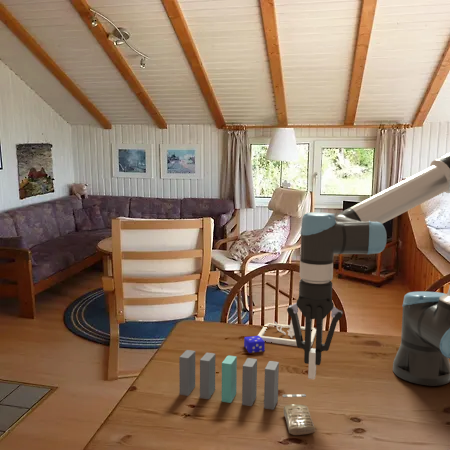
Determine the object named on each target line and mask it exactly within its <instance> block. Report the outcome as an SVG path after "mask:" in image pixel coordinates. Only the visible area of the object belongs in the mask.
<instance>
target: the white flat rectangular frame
mask: <svg viewBox="0 0 450 450" xmlns="http://www.w3.org/2000/svg"><path fill="white" fill-rule="evenodd" d="M277 324H278V328H280V327H281V326H284V327H283V328H287V329H290V324H282V323H277ZM264 326H268V327H269V326H272V327H277V326H276V323H275V322H273V323H272V322H267V323H265V324H264ZM264 326H263V327H261V328H262V329H261V330H260V331H259V333H258V334H257V335H256V336H260V337H261V338H262V339H263V340H264V341H266V342H265V343H271V342H272V343H271V344H279V345H288V346H292V347H293V346H294V347H297V344H296V339H293V338H291V339H290V338H281V337H273V336H265V334H266V332H267V330H266V329H268V328H267V327H264ZM300 328H301V331H302V330H303V331H305V326H301V325H300ZM265 331H266V332H265ZM315 339H316V327H312V331H311V347H313V344H314V341H315ZM303 341H304V342H305V340H303Z"/></svg>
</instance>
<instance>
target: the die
mask: <svg viewBox="0 0 450 450" xmlns="http://www.w3.org/2000/svg"><path fill="white" fill-rule="evenodd" d="M243 340H244V341H243V346H244V348H245V350H247V351H246V352H248V354H251V353H261V352H265V347H266V346H265V343H266V342H265V341H264V340H263V339H262V338H261V337H260V336H257V335H254V336H253V335H252V336H244V338H243Z"/></svg>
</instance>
